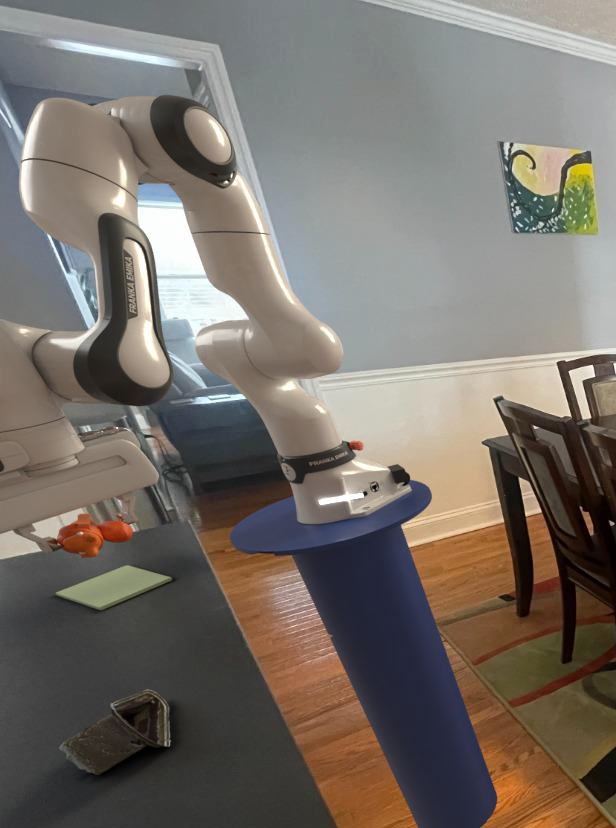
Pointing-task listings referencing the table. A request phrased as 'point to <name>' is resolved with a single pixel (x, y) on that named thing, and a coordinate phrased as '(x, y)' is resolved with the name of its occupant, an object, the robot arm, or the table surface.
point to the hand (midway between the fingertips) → (93, 536)
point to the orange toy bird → (91, 535)
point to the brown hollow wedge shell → (121, 733)
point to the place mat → (113, 587)
